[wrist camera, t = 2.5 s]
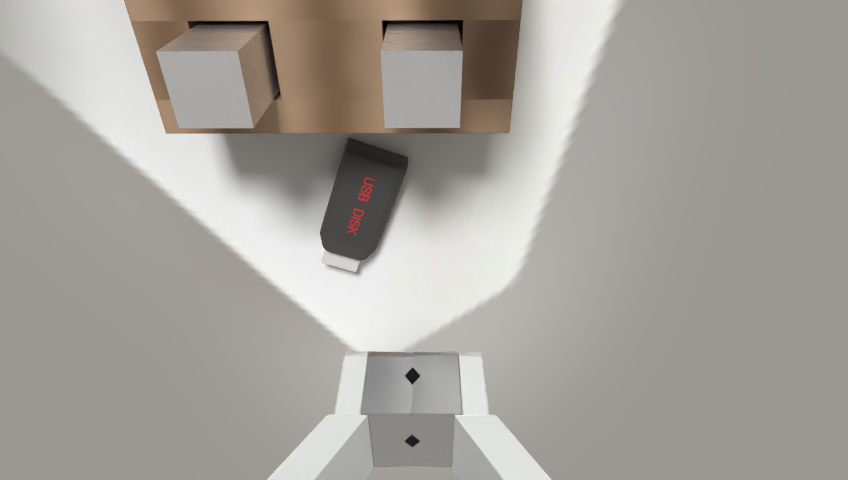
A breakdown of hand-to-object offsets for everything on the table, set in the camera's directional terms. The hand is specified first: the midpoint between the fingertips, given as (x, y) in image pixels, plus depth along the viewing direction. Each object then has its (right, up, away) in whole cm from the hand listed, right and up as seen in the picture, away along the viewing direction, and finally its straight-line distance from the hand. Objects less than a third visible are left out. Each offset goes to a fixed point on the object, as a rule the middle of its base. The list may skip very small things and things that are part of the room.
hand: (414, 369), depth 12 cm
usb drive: (-6, +6, +35) cm, 36 cm away
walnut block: (-5, +18, +25) cm, 32 cm away
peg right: (0, +15, +20) cm, 25 cm away
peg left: (-11, +15, +20) cm, 27 cm away
